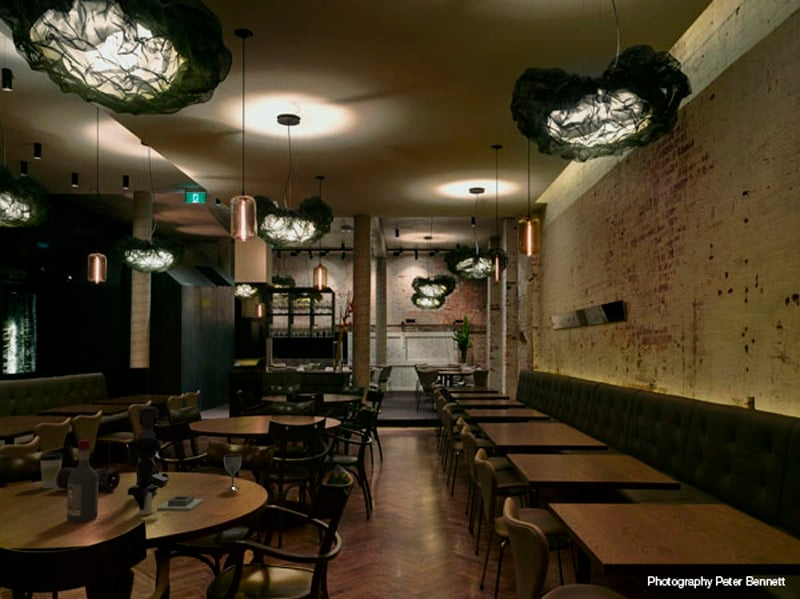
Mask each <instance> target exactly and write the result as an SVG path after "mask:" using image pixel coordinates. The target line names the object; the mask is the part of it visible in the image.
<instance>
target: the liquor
mask: <svg viewBox="0 0 800 599" xmlns="http://www.w3.org/2000/svg"><path fill="white" fill-rule="evenodd" d="M90 442H91V441H90V439H81V440H79V441H78V464H77V466H76V467H75V470H74V471H73V472H72V473H71V474H70V475H69V478H68V489H67V501H66V502H67V504H66V519H67V522H70V523H72V524H83V523H87V522H92V521H94V520H96V519H97V517H98V513H99V512H98V510H99V508H98V507H99V492H98V479H99V476H98V474H97V472H96V471H95V470H94V468H93V467H92V466H91V465H90V447H91V446H90Z"/></svg>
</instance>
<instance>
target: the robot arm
mask: <svg viewBox="0 0 800 599" xmlns="http://www.w3.org/2000/svg"><path fill="white" fill-rule="evenodd" d="M158 418H159V408H156V406H148V407H140V409H137V419H138V420H139V425H140V426H141V432H140V433H138V438H137V440H136V442H135V443H136V444H135V446H136V447H135V449H136V450H135V457H138V463H137V468H136V472H135V475H136V483H135V485H132V486H130V487H129V488H128V489H127V496H132V497H133V498H134V500H135V502H136V503H137V505H138V509H139V508H140V510H144V505H145V498H146V496H147V495H148V494H149V493H152V499H153V498H154V496H155V495H157V494H158V493H157V490H159V489H163V488H165V487H167V485H168V482H169V481H170V477H169V473H168V472H164V473H162V474H161V473H160V470H159V469H158V467H156V466H157V465H156V461H155V456H157V453H159V441H158V439H157V438H156V433H155V432H154V431H153V430H154V426H155V425H156V424H157V419H158ZM147 491H149V492H147Z"/></svg>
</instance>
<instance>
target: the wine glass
mask: <svg viewBox="0 0 800 599" xmlns="http://www.w3.org/2000/svg"><path fill="white" fill-rule="evenodd" d="M242 458H243V456H242V454H237V453H236V454H235V453H233V454H232V453H231V454H226V455H224V456H223V463H224V468H225V470H226V471H227V473H229V475H230V478H231V485H230V486H228V487H225V488H224V490H225V491H229V492H230V491H238V490H240V489H241V486H235V485H234V479H235V475H236V473H237V472H238V471H239V470H240V468H241V466H242Z"/></svg>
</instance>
